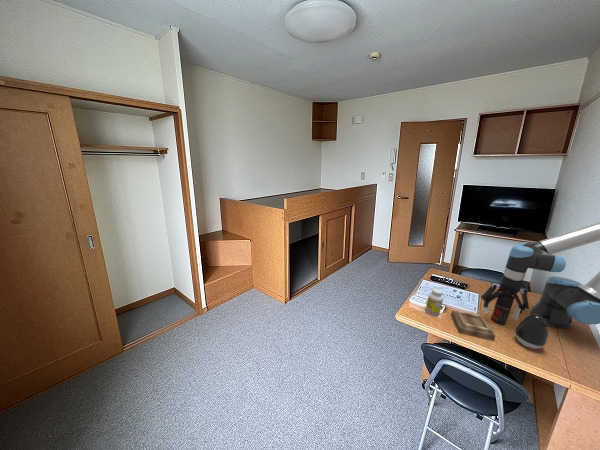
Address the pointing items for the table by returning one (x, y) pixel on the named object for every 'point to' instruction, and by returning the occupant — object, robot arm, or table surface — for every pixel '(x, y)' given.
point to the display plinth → (472, 325)
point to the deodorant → (502, 309)
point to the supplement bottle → (434, 302)
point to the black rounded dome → (533, 331)
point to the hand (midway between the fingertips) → (499, 315)
